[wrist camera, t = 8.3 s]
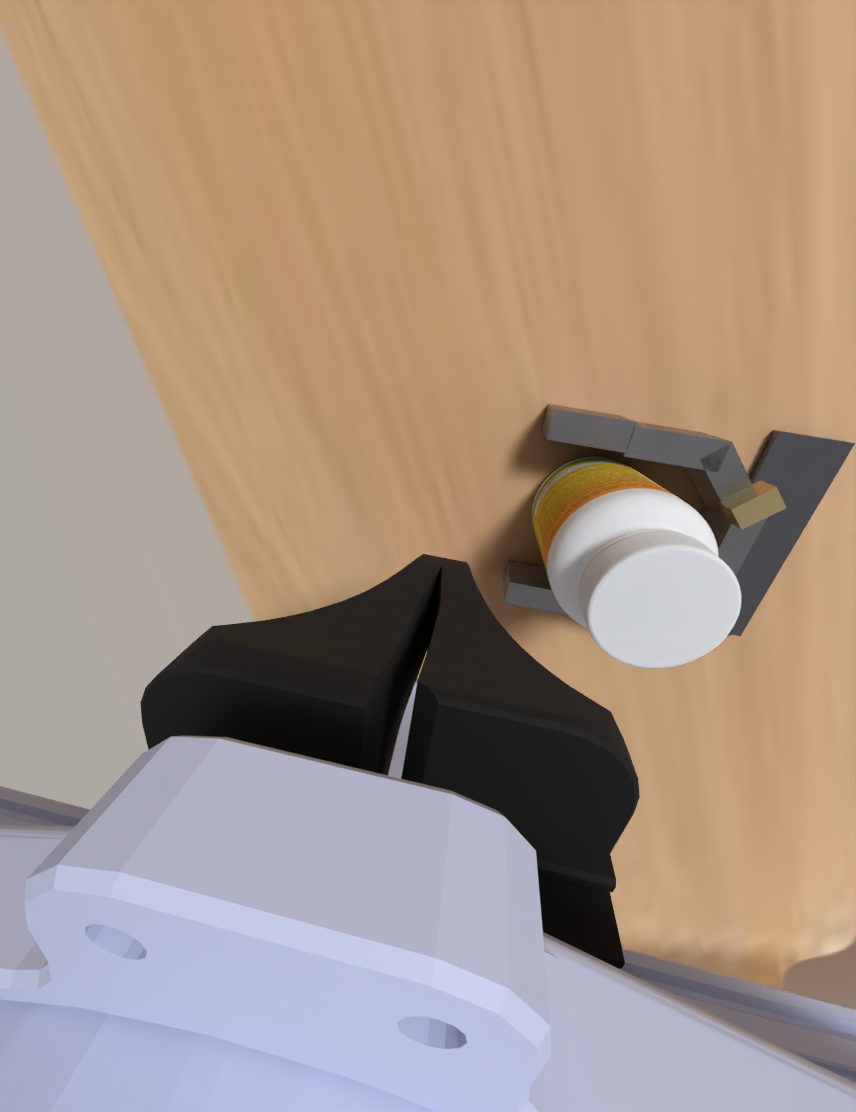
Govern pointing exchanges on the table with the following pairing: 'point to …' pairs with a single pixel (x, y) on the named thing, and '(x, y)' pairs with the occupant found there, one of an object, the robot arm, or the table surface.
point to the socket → (708, 495)
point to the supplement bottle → (633, 564)
